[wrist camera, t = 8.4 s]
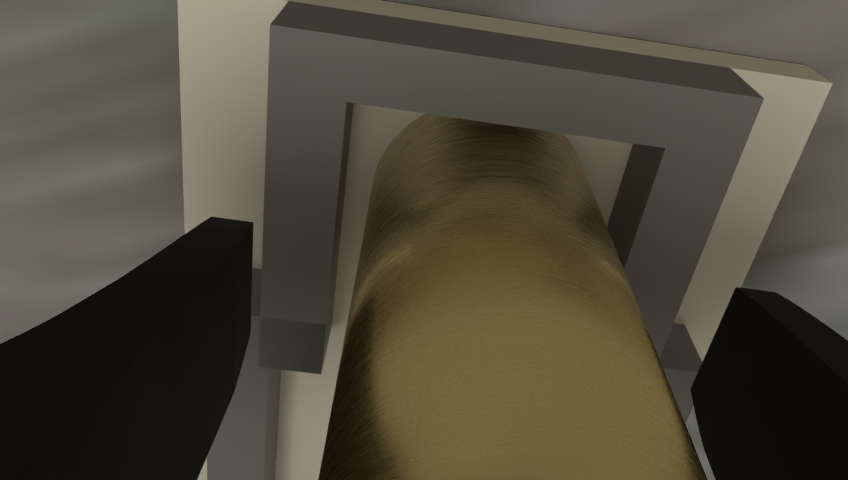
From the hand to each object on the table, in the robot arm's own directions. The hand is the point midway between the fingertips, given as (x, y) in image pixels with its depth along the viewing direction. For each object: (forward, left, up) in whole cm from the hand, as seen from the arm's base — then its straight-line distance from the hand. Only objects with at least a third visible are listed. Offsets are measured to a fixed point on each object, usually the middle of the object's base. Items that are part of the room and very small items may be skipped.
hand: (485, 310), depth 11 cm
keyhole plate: (-4, 0, -4) cm, 6 cm away
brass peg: (0, 0, -3) cm, 3 cm away
